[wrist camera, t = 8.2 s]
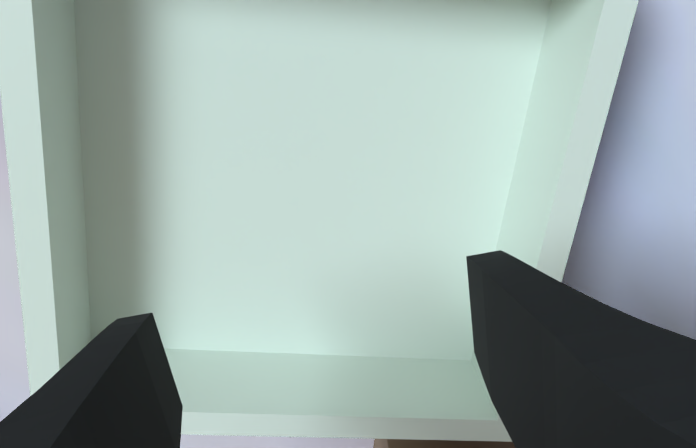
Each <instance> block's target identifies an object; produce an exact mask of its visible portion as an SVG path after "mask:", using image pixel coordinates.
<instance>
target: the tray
mask: <svg viewBox="0 0 696 448" xmlns="http://www.w3.org/2000/svg"><path fill="white" fill-rule="evenodd" d="M638 1H639V0H0V94H1V104H2V114H3V124H4V135H5V145H6V155H7V165H8V175H9V185H10V195H11V205H12V215H13V225H14V235H15V245H16V255H17V266H18V276H19V286H20V296H21V306H22V316H23V326H24V336H25V346H26V356H27V366H28V376H29V386H30V396H31V395H33V394H34V393H35V392H36V391H37V390H38V389H40V388H41V387H42V386H43V385H44V384H45V383H46V382H47V381H48V380H49V379H50V378H52V377H53V376H54V375H55V374H56V373H57V372H58V371H59V370H60V369H61V368H62V367H63V366H65V365H66V364H67V363H68V362H69V361H70V360H71V359H72V358H73V357H74V356H75V355H76V354H77V353H79V352H80V351H81V350H82V349H83V348H84V347H85V346H86V345H87V344H88V343H89V342H90V341H91V340H93V339H94V338H95V337H96V336H97V335H98V334H99V333H100V332H101V331H103V330H104V329H105V328H106V327H107V326H108V325H110V324H111V323H112V322H114V321H115V320H116V319H118V318H124V317H130V316H135V315H141V314H146V313H153V316H154V319H155V322H156V325H157V328H158V331H159V334H160V337H161V341H162V344H163V347H164V350H165V353H166V356H167V359H168V362H169V365H170V368H171V371H172V375H173V378H174V381H175V384H176V387H177V390H178V393H179V396H180V399H181V402H182V405H183V409H182V424H181V434H184V435H230V436H275V437H321V438H366V439H412V440H457V441H503V442H512V440H511V438H510V436H509V434H508V432H507V430H506V428H505V426H504V424H503V422H502V421H501V419H500V417H499V415H498V413H497V411H496V409H495V407H494V405H493V403H492V401H491V398H490V395H489V393H488V390H487V387H486V385H485V382H484V379H483V376H482V374H481V371H480V368H479V365H478V362H477V359H476V356H475V354H474V344H473V332H472V320H471V308H470V296H469V284H468V272H467V260H466V256H471V255H477V254H482V253H488V252H493V251H499V250H501V251H503V252H506V253H508V254H510V255H512V256H514V257H515V258H517V259H519V260H521V261H523V262H525V263H526V264H528V265H530V266H532V267H534V268H535V269H537V270H539V271H541V272H543V273H545V274H546V275H548V276H550V277H552V278H554V279H556V280H557V281H559V282H562V278H563V275H564V271H565V268H566V264H567V260H568V257H569V253H570V249H571V246H572V242H573V238H574V235H575V231H576V227H577V224H578V220H579V216H580V213H581V209H582V206H583V202H584V198H585V195H586V191H587V187H588V184H589V180H590V176H591V173H592V169H593V165H594V162H595V158H596V154H597V151H598V147H599V144H600V140H601V136H602V133H603V129H604V125H605V122H606V118H607V114H608V111H609V107H610V103H611V100H612V96H613V92H614V89H615V85H616V82H617V78H618V74H619V71H620V67H621V63H622V60H623V56H624V52H625V49H626V45H627V41H628V38H629V34H630V30H631V27H632V23H633V19H634V16H635V12H636V9H637V5H638Z"/></svg>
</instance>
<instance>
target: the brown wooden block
mask: <svg viewBox="0 0 696 448" xmlns="http://www.w3.org/2000/svg"><path fill="white" fill-rule="evenodd" d="M373 448H515V446H514V444H513V442H503V441H457V440H412V439H375V440H374V447H373Z"/></svg>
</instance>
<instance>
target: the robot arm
mask: <svg viewBox="0 0 696 448" xmlns="http://www.w3.org/2000/svg"><path fill="white" fill-rule="evenodd" d="M466 260H467V272H468V284H469V296H470V308H471V320H472V332H473V344H474V354H475V356H476V359H477V362H478V365H479V368H480V371H481V374H482V376H483V379H484V382H485V385H486V387H487V390H488V393H489V395H490V398H491V401H492V403H493V405H494V407H495V409H496V411H497V413H498V415H499V417H500V419H501V421H502V422H503V424H504V426H505V428H506V430H507V432H508V434H509V436H510V438H511V440H512V442H513V444H514V446H515V448H696V340H694V339H691V338H689V337H686V336H683V335H680V334H677V333H674V332H672V331H669V330H666V329H663V328H660V327H657V326H655V325H652V324H650V323H647V322H645V321H642V320H640V319H637V318H635V317H632V316H630V315H628V314H626V313H623V312H621V311H619V310H617V309H614V308H612V307H610V306H608V305H605V304H603V303H601V302H599V301H597V300H595V299H593V298H591V297H589V296H587V295H584V294H583V293H581V292H579V291H577V290H575V289H573V288H571V287H569V286H567V285H565V284H563V283H561V282H559V281H557V280H556V279H554V278H552V277H550V276H548V275H546V274H545V273H543V272H541V271H539V270H537V269H535V268H534V267H532V266H530V265H528V264H526V263H525V262H523V261H521V260H519V259H517V258H515V257H514V256H512V255H510V254H508V253H506V252H503V251H501V250H499V251H493V252H488V253H482V254H477V255H471V256H466ZM182 409H183V405H182V402H181V399H180V396H179V393H178V390H177V387H176V384H175V381H174V378H173V375H172V371H171V368H170V365H169V362H168V359H167V356H166V353H165V350H164V347H163V344H162V341H161V337H160V334H159V331H158V328H157V325H156V322H155V319H154V316H153V313H146V314H141V315H135V316H130V317H124V318H118V319H116V320H115V321H114V322H112V323H111V324H110V325H108V326H107V327H106V328H105V329H104V330H103V331H101V332H100V333H99V334H98V335H97V336H96V337H95V338H94V339H93V340H91V341H90V342H89V343H88V344H87V345H86V346H85V347H84V348H83V349H82V350H81V351H80V352H79V353H77V354H76V355H75V356H74V357H73V358H72V359H71V360H70V361H69V362H68V363H67V364H66V365H65V366H63V367H62V368H61V369H60V370H59V371H58V372H57V373H56V374H55V375H54V376H53V377H52V378H50V379H49V380H48V381H47V382H46V383H45V384H44V385H43V386H42V387H41V388H40V389H38V390H37V391H36V392H35V393H34V394H33V395H31V396H30V397H29V398H28V399H27V400H26V401H24V402H23V403H22V404H21V405H20V406H18V407H17V408H16V409H15V410H14V411H13V412H11V413H10V414H9V415H8V416H7V417H6V418H4V419H3V420H2V421H1V422H0V448H180V438H181V424H182Z"/></svg>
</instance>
